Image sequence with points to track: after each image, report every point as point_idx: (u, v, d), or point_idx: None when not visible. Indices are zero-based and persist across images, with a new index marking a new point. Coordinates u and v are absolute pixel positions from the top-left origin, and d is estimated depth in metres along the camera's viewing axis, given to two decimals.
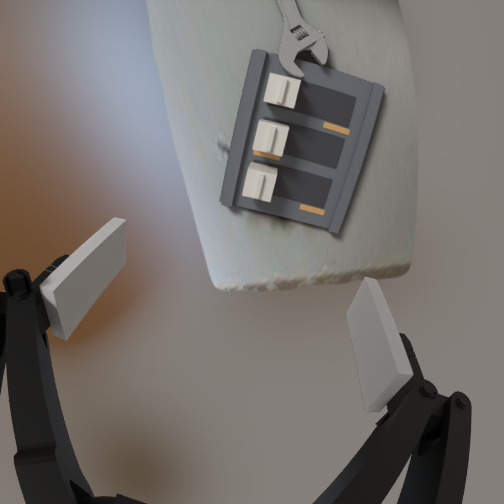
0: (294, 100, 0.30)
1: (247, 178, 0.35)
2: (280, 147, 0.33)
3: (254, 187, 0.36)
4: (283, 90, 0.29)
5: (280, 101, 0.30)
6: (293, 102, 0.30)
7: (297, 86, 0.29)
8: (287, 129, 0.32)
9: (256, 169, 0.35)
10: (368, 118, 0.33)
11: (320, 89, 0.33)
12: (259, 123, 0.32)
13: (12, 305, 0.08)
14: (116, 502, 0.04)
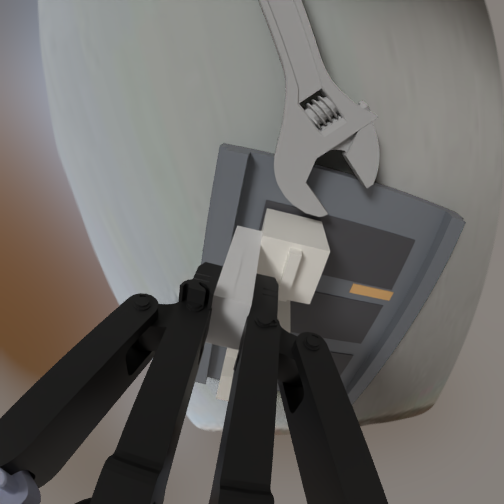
0: (312, 290, 0.16)
1: (221, 384, 0.22)
2: None
3: None
4: (291, 279, 0.15)
5: (283, 298, 0.16)
6: (309, 294, 0.16)
7: (321, 264, 0.15)
8: None
9: None
10: (427, 279, 0.19)
11: (354, 228, 0.19)
12: None
13: (181, 312, 0.10)
14: None
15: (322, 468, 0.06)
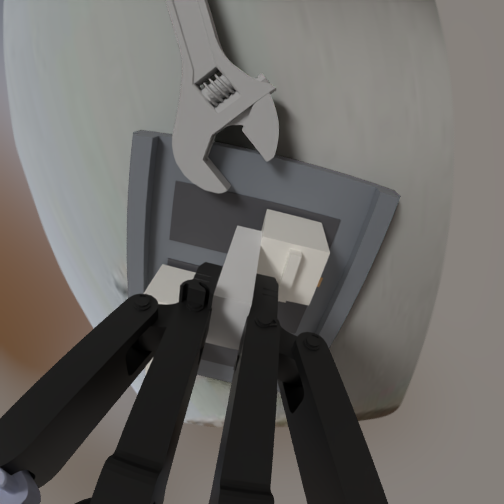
0: (311, 292, 0.16)
1: (147, 365, 0.21)
2: None
3: None
4: (290, 280, 0.15)
5: (283, 299, 0.16)
6: (309, 295, 0.17)
7: (321, 265, 0.15)
8: None
9: None
10: (358, 263, 0.19)
11: (267, 207, 0.19)
12: None
13: (181, 312, 0.10)
14: None
15: (322, 468, 0.06)
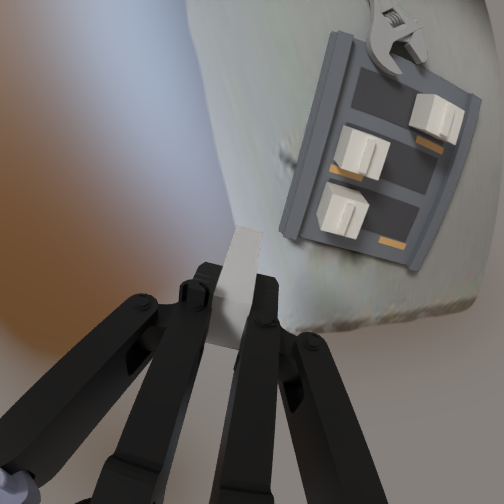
0: (456, 135, 0.20)
1: (330, 207, 0.25)
2: (377, 168, 0.23)
3: (338, 219, 0.26)
4: (450, 121, 0.19)
5: (446, 134, 0.20)
6: (455, 137, 0.21)
7: (461, 118, 0.20)
8: (388, 144, 0.22)
9: (342, 195, 0.25)
10: (465, 136, 0.23)
11: (415, 94, 0.23)
12: (353, 133, 0.22)
13: (180, 312, 0.10)
14: None
15: (322, 468, 0.06)
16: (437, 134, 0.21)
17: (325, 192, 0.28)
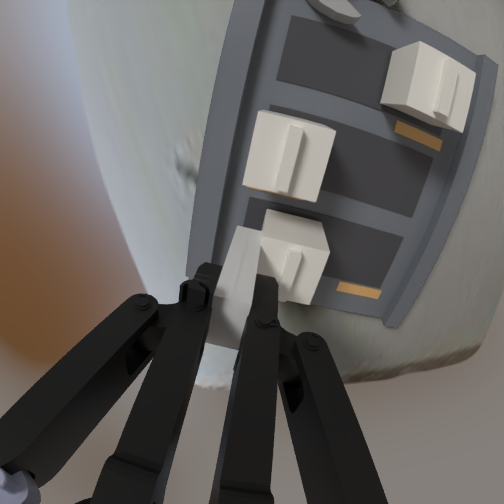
0: (464, 115, 0.11)
1: (261, 258, 0.16)
2: (312, 180, 0.13)
3: (276, 277, 0.16)
4: (452, 88, 0.10)
5: (445, 112, 0.10)
6: (462, 119, 0.11)
7: (470, 85, 0.10)
8: (331, 135, 0.12)
9: (282, 237, 0.15)
10: (476, 121, 0.13)
11: (389, 52, 0.13)
12: (259, 118, 0.12)
13: (181, 312, 0.10)
14: None
15: (322, 468, 0.06)
16: (429, 113, 0.11)
17: (262, 227, 0.18)
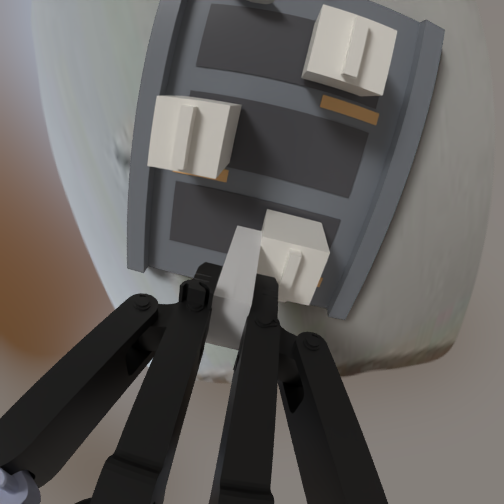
0: (384, 75, 0.11)
1: (261, 258, 0.16)
2: (210, 156, 0.13)
3: (276, 277, 0.16)
4: (361, 46, 0.10)
5: (353, 73, 0.10)
6: (381, 80, 0.11)
7: (390, 43, 0.10)
8: (225, 110, 0.12)
9: (282, 238, 0.15)
10: (418, 90, 0.13)
11: (312, 27, 0.13)
12: (158, 102, 0.12)
13: (181, 312, 0.10)
14: None
15: (322, 468, 0.06)
16: (336, 76, 0.11)
17: (262, 227, 0.18)
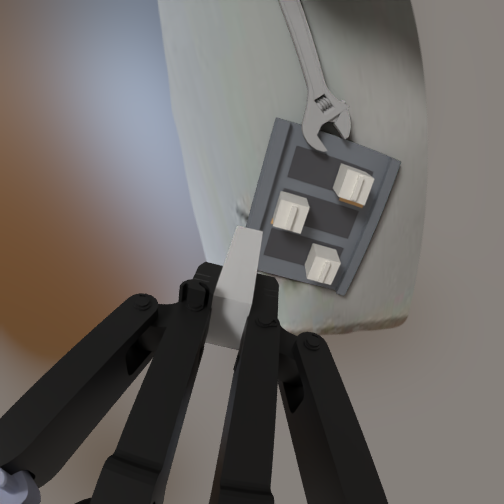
0: (366, 197, 0.34)
1: (314, 264, 0.39)
2: (299, 225, 0.36)
3: (319, 272, 0.39)
4: (359, 189, 0.33)
5: (354, 199, 0.34)
6: (365, 199, 0.34)
7: (370, 184, 0.33)
8: (307, 209, 0.35)
9: (322, 256, 0.38)
10: (382, 193, 0.37)
11: (340, 163, 0.37)
12: (281, 202, 0.35)
13: (180, 312, 0.10)
14: None
15: (322, 468, 0.06)
16: (348, 199, 0.34)
17: (311, 251, 0.41)
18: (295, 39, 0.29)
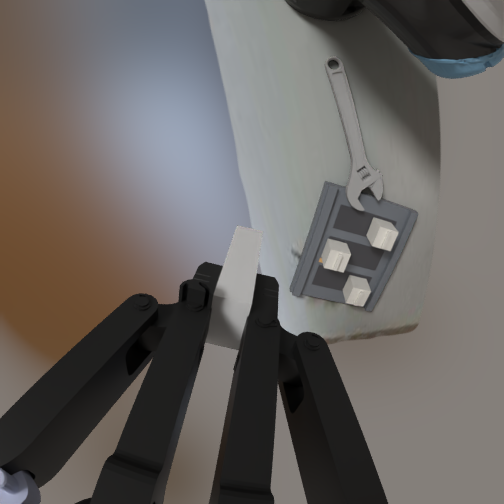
0: (391, 246, 0.45)
1: (351, 293, 0.50)
2: (343, 266, 0.48)
3: (355, 298, 0.51)
4: (387, 241, 0.44)
5: (384, 248, 0.45)
6: (390, 247, 0.45)
7: (395, 236, 0.44)
8: (349, 255, 0.47)
9: (358, 287, 0.50)
10: (403, 238, 0.48)
11: (372, 216, 0.48)
12: (331, 251, 0.47)
13: (180, 312, 0.10)
14: None
15: (322, 468, 0.06)
16: (379, 247, 0.45)
17: (348, 281, 0.53)
18: (343, 118, 0.40)
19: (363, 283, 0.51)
